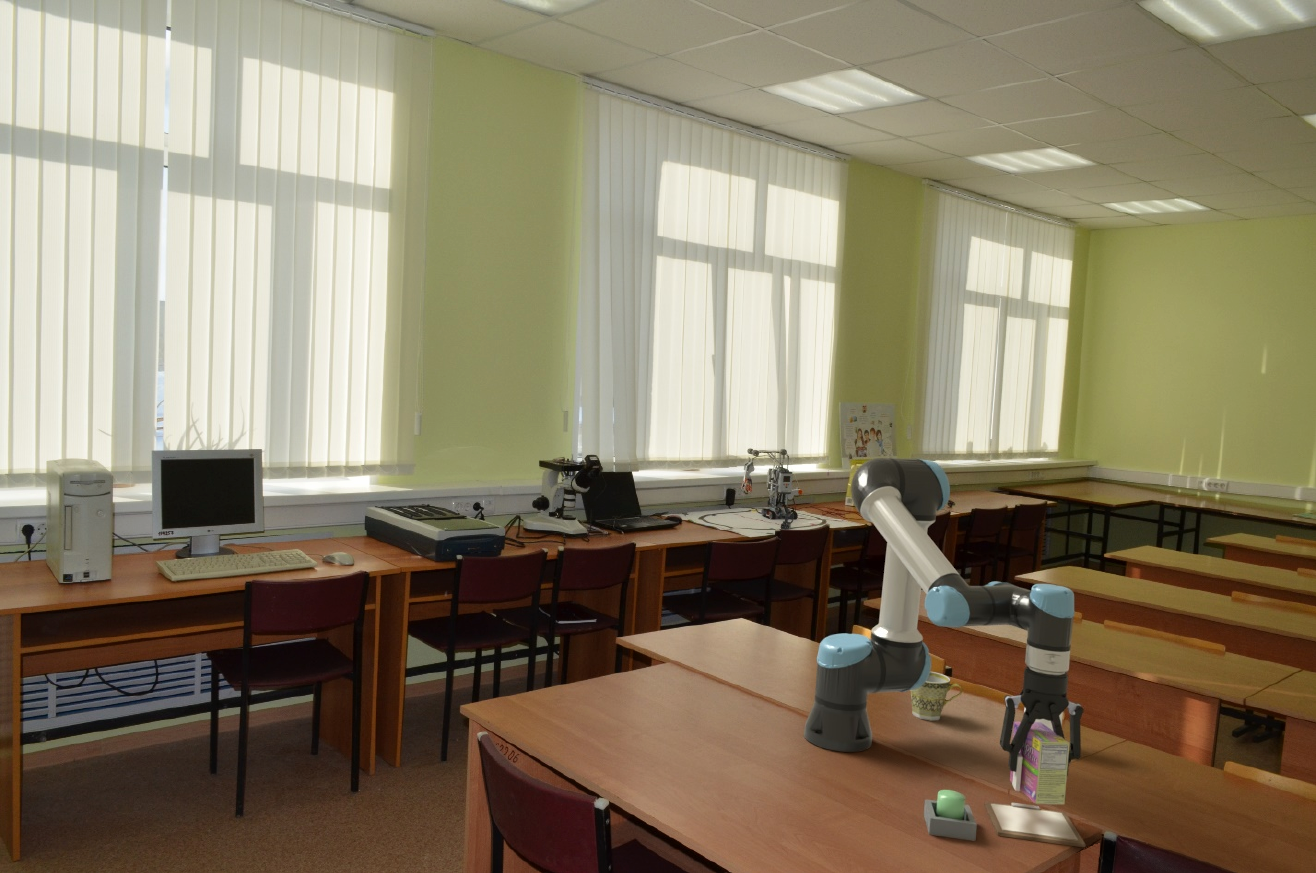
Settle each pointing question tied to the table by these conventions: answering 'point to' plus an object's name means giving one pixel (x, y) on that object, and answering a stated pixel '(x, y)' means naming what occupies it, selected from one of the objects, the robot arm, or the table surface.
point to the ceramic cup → (931, 696)
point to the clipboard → (1033, 824)
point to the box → (1043, 765)
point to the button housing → (949, 823)
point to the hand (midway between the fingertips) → (1036, 790)
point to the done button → (950, 804)
